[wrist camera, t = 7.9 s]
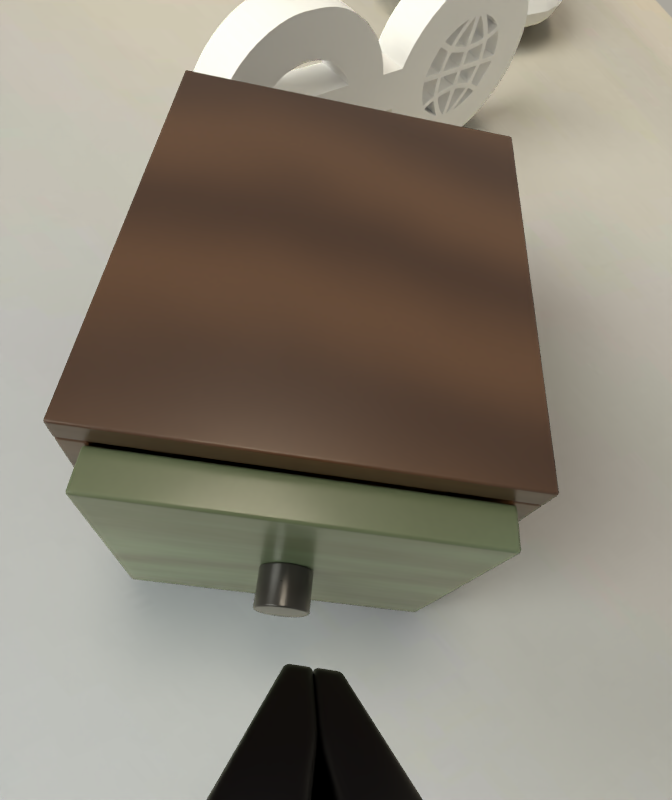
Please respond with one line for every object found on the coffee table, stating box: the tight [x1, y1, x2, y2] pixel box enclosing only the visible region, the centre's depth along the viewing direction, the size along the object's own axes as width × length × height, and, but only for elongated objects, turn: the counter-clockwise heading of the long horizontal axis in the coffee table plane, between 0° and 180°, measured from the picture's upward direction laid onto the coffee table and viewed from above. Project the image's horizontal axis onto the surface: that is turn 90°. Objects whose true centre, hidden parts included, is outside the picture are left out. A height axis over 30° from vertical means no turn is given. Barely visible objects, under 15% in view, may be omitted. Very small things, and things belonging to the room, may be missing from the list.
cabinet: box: [44, 70, 559, 521], centre depth 20 cm, size 14×12×11 cm
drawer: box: [66, 446, 521, 617], centre depth 19 cm, size 14×10×9 cm
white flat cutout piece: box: [194, 0, 528, 127], centre depth 30 cm, size 22×2×10 cm, turn 129°
